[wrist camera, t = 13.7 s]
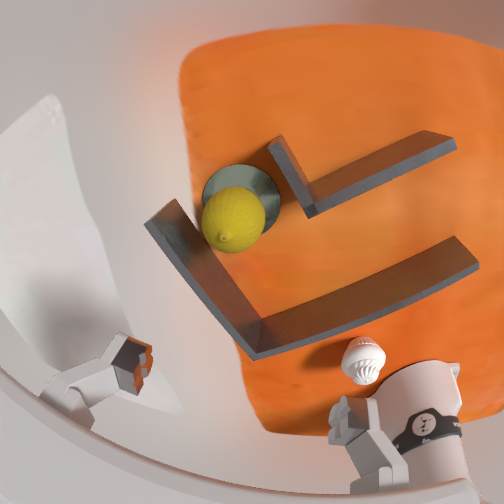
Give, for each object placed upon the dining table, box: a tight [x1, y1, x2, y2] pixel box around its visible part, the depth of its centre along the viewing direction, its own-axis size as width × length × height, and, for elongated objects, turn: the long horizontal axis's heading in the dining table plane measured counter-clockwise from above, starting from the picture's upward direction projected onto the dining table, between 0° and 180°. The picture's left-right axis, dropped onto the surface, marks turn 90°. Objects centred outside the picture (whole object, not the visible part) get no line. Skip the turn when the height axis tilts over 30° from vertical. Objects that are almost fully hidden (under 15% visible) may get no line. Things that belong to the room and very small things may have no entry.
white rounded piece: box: [341, 336, 386, 385], centre depth 33 cm, size 6×6×7 cm
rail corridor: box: [144, 130, 479, 361], centre depth 25 cm, size 20×28×6 cm
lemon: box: [201, 186, 265, 253], centre depth 25 cm, size 6×6×8 cm
